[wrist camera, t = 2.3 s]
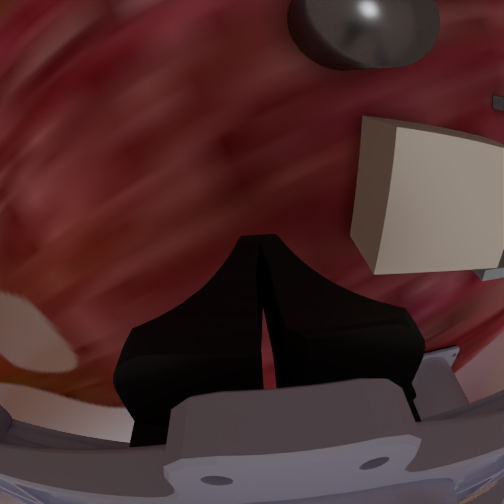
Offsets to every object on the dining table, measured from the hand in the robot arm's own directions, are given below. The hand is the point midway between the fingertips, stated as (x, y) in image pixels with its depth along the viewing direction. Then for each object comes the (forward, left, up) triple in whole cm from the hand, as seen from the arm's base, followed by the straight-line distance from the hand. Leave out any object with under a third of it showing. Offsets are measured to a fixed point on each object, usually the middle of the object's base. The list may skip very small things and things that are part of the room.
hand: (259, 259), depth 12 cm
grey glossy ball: (+10, -6, -9) cm, 14 cm away
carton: (0, -12, -9) cm, 14 cm away
